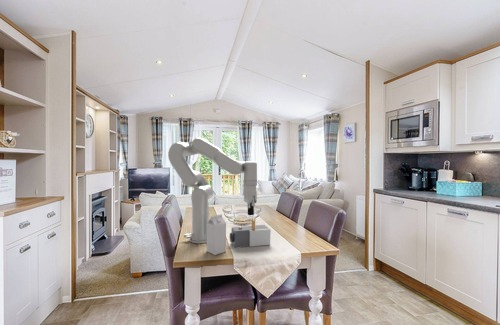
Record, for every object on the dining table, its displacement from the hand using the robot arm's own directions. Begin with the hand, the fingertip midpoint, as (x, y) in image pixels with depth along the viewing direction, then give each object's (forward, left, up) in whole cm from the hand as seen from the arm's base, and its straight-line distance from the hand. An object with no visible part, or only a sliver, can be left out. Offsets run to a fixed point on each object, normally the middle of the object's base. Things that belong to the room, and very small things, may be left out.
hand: (250, 214), depth 153 cm
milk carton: (-22, -8, -16) cm, 28 cm away
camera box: (-1, -1, -16) cm, 16 cm away
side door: (+3, -6, -16) cm, 17 cm away
